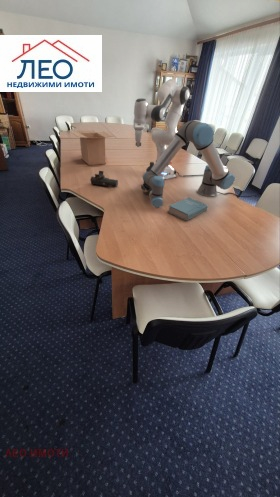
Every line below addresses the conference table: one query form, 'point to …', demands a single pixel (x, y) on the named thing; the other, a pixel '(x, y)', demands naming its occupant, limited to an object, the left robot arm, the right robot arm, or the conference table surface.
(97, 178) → the laser sight
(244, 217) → the conference table surface
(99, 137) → the box
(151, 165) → the bottle
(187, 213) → the book
